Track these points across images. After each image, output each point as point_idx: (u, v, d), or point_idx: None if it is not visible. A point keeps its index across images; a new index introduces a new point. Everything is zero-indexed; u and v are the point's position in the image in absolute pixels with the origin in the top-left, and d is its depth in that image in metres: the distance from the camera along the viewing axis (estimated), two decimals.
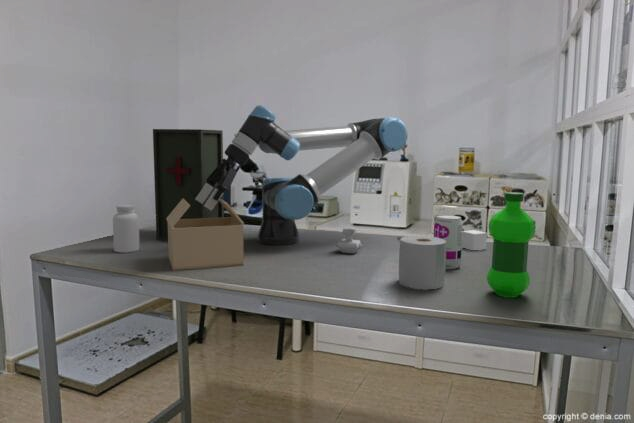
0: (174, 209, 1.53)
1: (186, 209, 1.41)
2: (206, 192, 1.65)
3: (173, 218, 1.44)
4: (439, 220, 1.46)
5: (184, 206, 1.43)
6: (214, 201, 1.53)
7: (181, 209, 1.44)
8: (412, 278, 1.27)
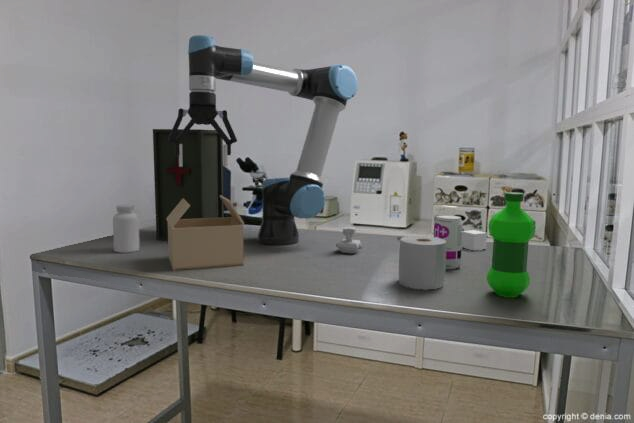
0: (174, 209, 1.53)
1: (186, 209, 1.41)
2: None
3: (173, 218, 1.44)
4: (439, 220, 1.46)
5: (184, 206, 1.43)
6: None
7: (181, 209, 1.44)
8: (412, 278, 1.27)
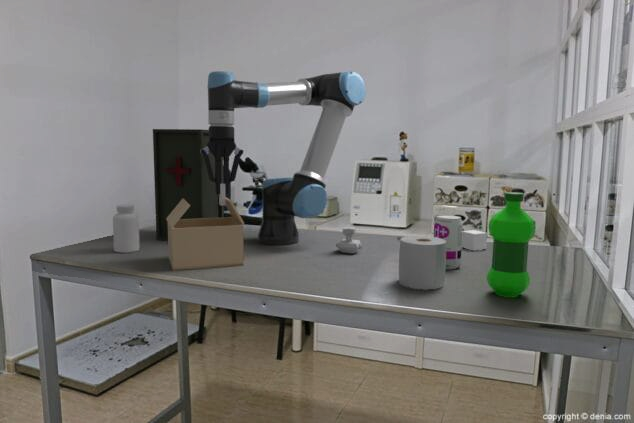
0: (174, 209, 1.53)
1: (186, 209, 1.41)
2: None
3: (173, 218, 1.44)
4: (439, 220, 1.46)
5: (184, 206, 1.43)
6: None
7: (181, 209, 1.44)
8: (412, 278, 1.27)
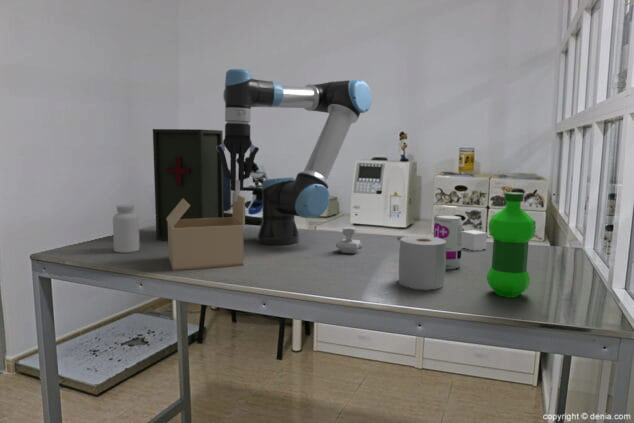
0: (174, 209, 1.53)
1: (186, 209, 1.41)
2: None
3: (173, 218, 1.44)
4: (439, 220, 1.46)
5: (184, 206, 1.43)
6: None
7: (181, 209, 1.44)
8: (412, 278, 1.27)
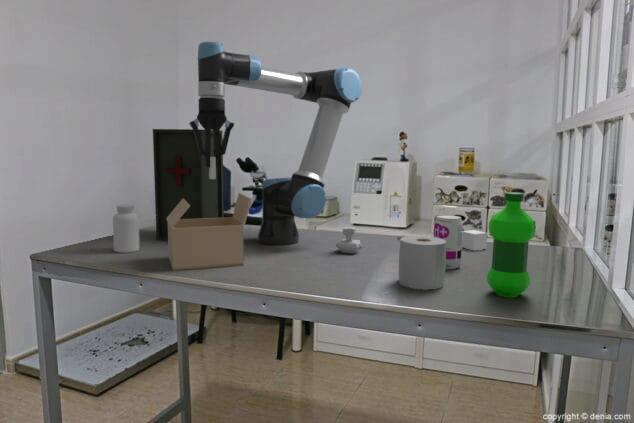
0: (174, 209, 1.53)
1: (186, 209, 1.41)
2: None
3: (173, 218, 1.44)
4: (439, 220, 1.46)
5: (184, 206, 1.43)
6: None
7: (181, 209, 1.44)
8: (412, 278, 1.27)
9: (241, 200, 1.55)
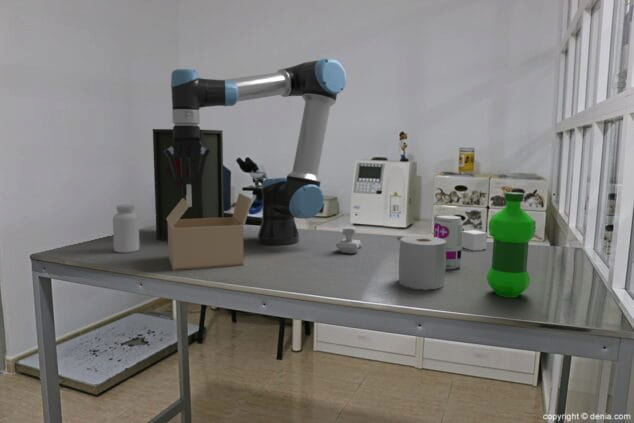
0: (174, 209, 1.53)
1: (186, 209, 1.41)
2: None
3: (173, 218, 1.44)
4: (439, 220, 1.46)
5: (184, 206, 1.43)
6: None
7: (181, 209, 1.44)
8: (412, 278, 1.27)
9: (241, 200, 1.55)
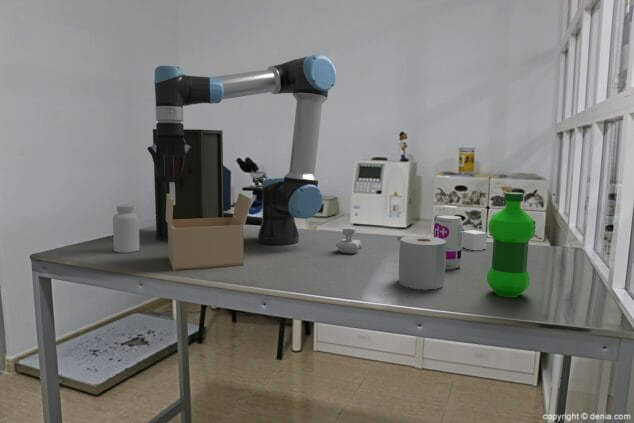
0: (166, 208, 1.52)
1: (172, 204, 1.39)
2: None
3: (168, 218, 1.44)
4: (439, 220, 1.46)
5: None
6: None
7: (169, 206, 1.43)
8: (412, 278, 1.27)
9: (241, 200, 1.55)
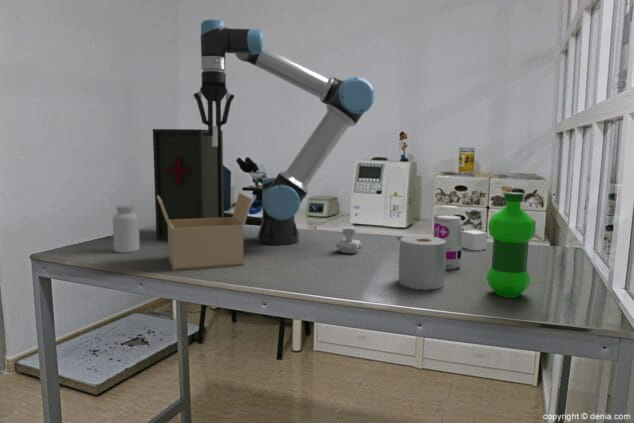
0: None
1: (163, 206, 1.38)
2: None
3: (166, 219, 1.44)
4: (439, 220, 1.46)
5: (160, 204, 1.41)
6: None
7: (162, 208, 1.42)
8: (412, 278, 1.27)
9: (241, 200, 1.55)
